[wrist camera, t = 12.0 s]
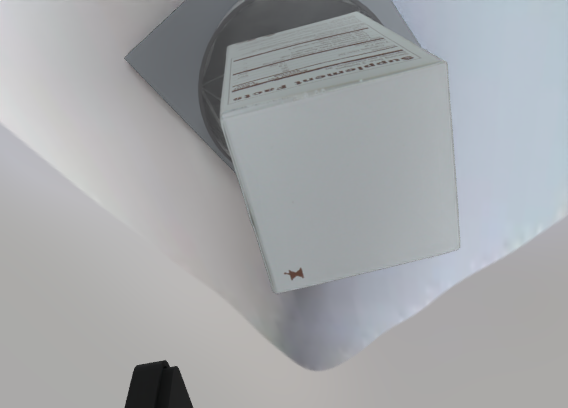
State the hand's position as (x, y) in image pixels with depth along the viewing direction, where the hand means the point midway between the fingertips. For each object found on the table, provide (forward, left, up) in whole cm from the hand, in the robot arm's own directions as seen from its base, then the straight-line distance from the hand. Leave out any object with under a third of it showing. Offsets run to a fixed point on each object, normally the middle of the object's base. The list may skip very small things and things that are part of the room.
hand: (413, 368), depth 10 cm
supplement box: (0, 0, -20) cm, 20 cm away
